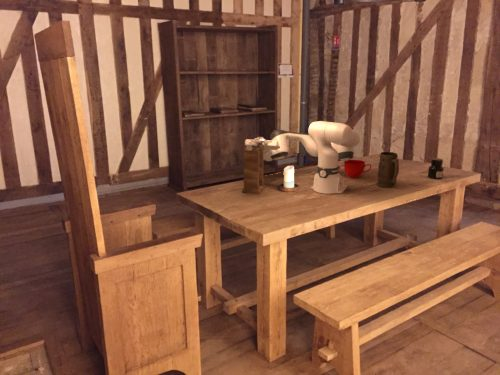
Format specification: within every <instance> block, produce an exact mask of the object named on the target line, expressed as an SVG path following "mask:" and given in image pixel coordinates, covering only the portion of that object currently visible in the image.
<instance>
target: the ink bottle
mask: <svg viewBox="0 0 500 375" xmlns="http://www.w3.org/2000/svg"><path fill="white" fill-rule="evenodd" d="M443 162H444V159H442V158H439V157H438V158H437V157H434V158H431V160H430V165H429V166H428V169H427V170H428V171H427V178H429V179H435V180H441V179H443V176H444V167H443Z"/></svg>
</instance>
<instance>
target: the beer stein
mask: <svg viewBox="0 0 500 375" xmlns="http://www.w3.org/2000/svg"><path fill="white" fill-rule="evenodd" d="M377 167H378V168H377V173H376V174H377V176H376V177H377V180H376V181H377V182H376V186H378V187H380V188H386V189H392V188H395V187H396V184H397V178H398V175H399V172H400V171H399V170H400V164H399V159H398V153H396V152H392V151H381V152H380V154H379V161H378V166H377Z"/></svg>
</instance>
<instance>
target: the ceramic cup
mask: <svg viewBox="0 0 500 375" xmlns="http://www.w3.org/2000/svg"><path fill="white" fill-rule="evenodd" d="M343 166H344V167H343V169H344V172H345V174H346V175H347V177H348V178H351V179H359V178H360V177H361V176H362V174H365V173H367V172H369V171H370V170H371V169H372V165H371V164H370V163H367V164H366V161H363V160H360V159H350V160H348V161H343ZM367 166H369V168H368V169H367V170H365V168H366V167H367Z"/></svg>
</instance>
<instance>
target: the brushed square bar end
mask: <svg viewBox="0 0 500 375" xmlns="http://www.w3.org/2000/svg"><path fill="white" fill-rule="evenodd" d="M262 139H264V137H263V136H258V137H256V139H255V138H254V139H252V140H253V141H251V142H250V143H248V144H247V145H246V150H250V151H252V150H253V149H254V146H255V145H258V146H259V142H262ZM262 143H263V142H262Z"/></svg>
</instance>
